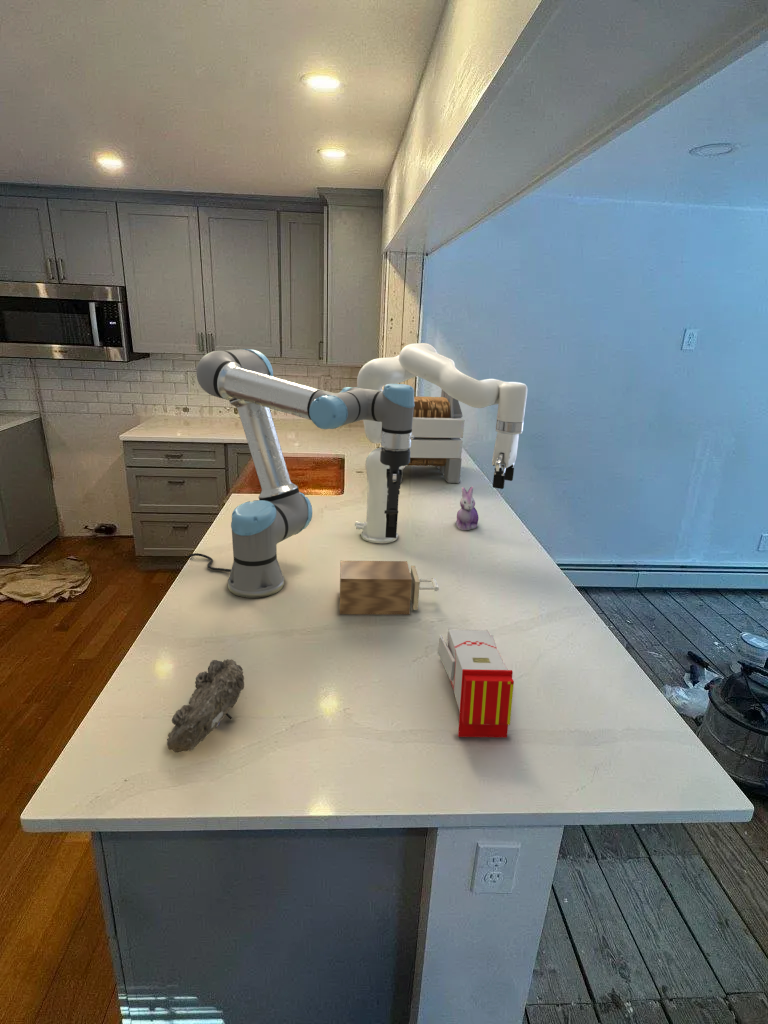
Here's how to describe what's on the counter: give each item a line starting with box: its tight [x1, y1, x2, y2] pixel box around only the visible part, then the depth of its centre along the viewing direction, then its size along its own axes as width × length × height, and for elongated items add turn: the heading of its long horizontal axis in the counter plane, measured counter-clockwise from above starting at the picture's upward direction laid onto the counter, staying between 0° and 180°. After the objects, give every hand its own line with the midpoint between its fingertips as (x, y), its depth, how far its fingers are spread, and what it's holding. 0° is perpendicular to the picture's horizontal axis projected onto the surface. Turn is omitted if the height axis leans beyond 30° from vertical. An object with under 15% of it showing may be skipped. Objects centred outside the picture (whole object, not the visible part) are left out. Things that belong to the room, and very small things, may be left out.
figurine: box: [455, 486, 480, 531], centre depth 207 cm, size 9×10×15 cm
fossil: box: [166, 658, 245, 754], centre depth 106 cm, size 22×10×15 cm
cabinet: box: [339, 560, 412, 615], centre depth 150 cm, size 18×11×10 cm, turn 94°
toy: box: [437, 628, 515, 738], centre depth 117 cm, size 12×13×30 cm
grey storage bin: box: [401, 389, 465, 484], centre depth 268 cm, size 34×33×41 cm
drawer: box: [409, 565, 440, 611], centre depth 151 cm, size 22×10×8 cm, turn 94°
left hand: (390, 527), depth 148 cm, fingers open, 13 cm apart
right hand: (502, 483), depth 168 cm, fingers open, 9 cm apart
